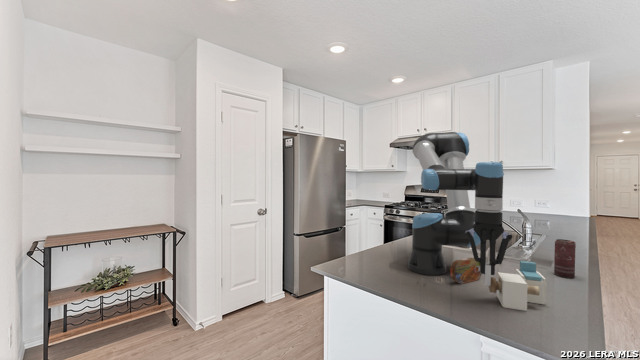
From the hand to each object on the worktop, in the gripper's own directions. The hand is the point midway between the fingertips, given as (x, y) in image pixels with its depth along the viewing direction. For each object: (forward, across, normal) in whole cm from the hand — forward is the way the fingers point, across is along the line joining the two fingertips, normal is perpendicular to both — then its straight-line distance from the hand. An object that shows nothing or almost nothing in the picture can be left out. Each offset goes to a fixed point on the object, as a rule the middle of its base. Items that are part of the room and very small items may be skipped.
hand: (487, 284), depth 88 cm
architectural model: (+6, +7, +42) cm, 43 cm away
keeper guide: (+5, +13, +7) cm, 16 cm away
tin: (+5, -4, +15) cm, 17 cm away
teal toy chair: (-2, +13, +7) cm, 15 cm away
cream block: (+5, +7, 0) cm, 8 cm away
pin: (+2, +7, 0) cm, 7 cm away
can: (+5, +32, +36) cm, 49 cm away
